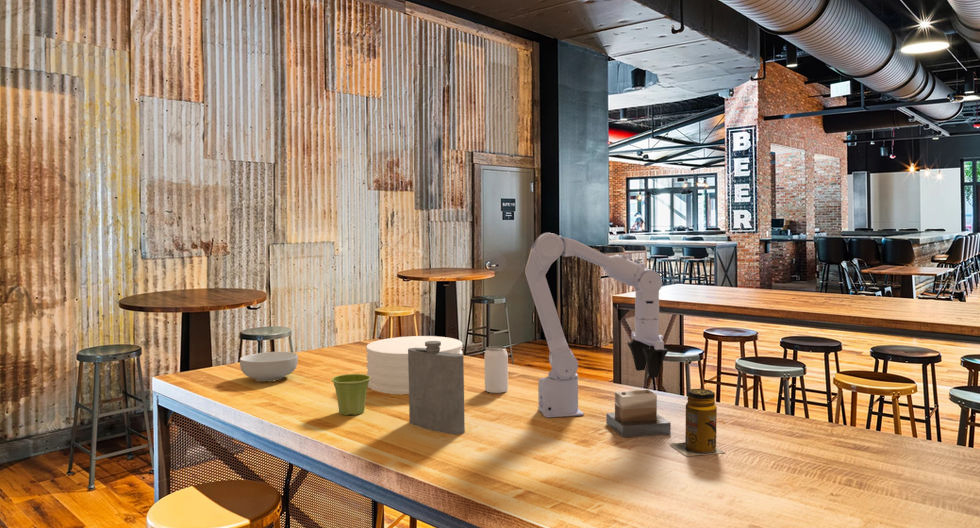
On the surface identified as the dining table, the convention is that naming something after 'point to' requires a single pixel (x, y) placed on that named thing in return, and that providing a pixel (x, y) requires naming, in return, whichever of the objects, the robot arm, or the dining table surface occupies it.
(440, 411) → the hip flask
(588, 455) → the dining table surface
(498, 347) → the can
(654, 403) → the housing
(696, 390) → the condiment
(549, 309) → the robot arm
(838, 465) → the dining table surface
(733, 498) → the dining table surface
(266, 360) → the cereal bowl
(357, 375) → the plant pot
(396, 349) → the plate stack
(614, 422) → the stand
